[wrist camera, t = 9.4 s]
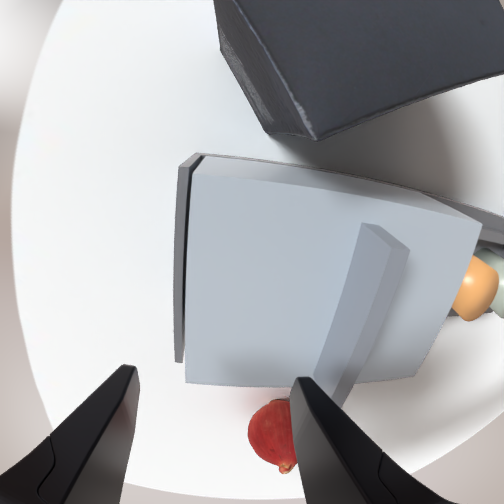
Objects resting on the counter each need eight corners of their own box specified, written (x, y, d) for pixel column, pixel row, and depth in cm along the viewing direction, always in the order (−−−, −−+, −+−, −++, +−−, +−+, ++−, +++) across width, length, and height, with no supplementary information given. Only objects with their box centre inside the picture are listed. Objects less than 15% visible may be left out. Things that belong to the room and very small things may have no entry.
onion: (302, 375, 24) (323, 451, 17) (309, 409, 27) (326, 474, 19) (238, 390, 24) (243, 467, 17) (253, 421, 27) (260, 488, 19)
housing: (511, 219, 20) (553, 244, 14) (477, 309, 24) (509, 342, 18) (195, 152, 16) (178, 166, 11) (186, 301, 20) (175, 362, 15)
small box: (364, -4, 12) (462, -67, 3) (407, 80, 15) (533, 73, 5) (213, 44, 14) (197, -51, 4) (266, 138, 16) (320, 156, 7)
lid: (419, 192, 17) (514, 242, 9) (378, 320, 21) (430, 403, 13) (205, 155, 15) (181, 188, 7) (194, 313, 19) (181, 421, 11)
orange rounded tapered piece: (433, 236, 18) (476, 266, 14) (465, 243, 19) (505, 270, 14) (415, 285, 20) (451, 322, 15) (448, 287, 20) (483, 320, 16)
